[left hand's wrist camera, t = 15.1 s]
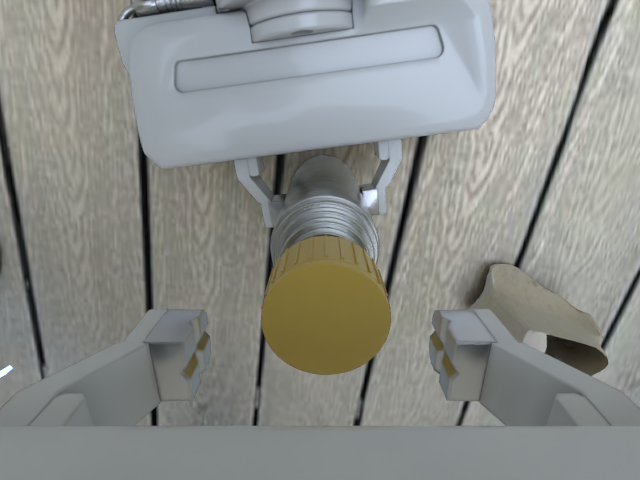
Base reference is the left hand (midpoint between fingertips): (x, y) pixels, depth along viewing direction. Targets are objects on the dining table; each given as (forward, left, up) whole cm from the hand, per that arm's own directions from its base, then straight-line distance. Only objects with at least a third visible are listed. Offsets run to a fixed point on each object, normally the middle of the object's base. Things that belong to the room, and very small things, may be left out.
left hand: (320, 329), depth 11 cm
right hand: (-1, +1, -14) cm, 14 cm away
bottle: (0, 0, -20) cm, 20 cm away
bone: (-20, -2, -20) cm, 28 cm away
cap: (0, 0, -1) cm, 1 cm away
